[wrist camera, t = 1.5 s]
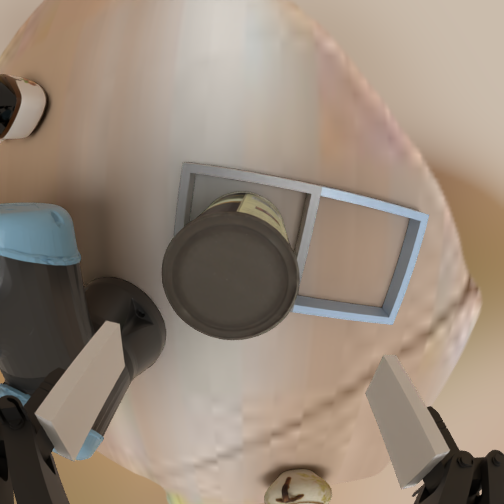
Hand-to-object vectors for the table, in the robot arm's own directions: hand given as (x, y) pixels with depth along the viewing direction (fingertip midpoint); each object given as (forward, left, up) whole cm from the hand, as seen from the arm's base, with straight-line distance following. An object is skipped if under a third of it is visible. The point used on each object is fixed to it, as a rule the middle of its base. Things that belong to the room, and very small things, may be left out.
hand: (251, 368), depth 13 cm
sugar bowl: (+19, -53, -23) cm, 61 cm away
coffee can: (-2, 0, -23) cm, 23 cm away
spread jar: (-39, +14, -23) cm, 47 cm away
